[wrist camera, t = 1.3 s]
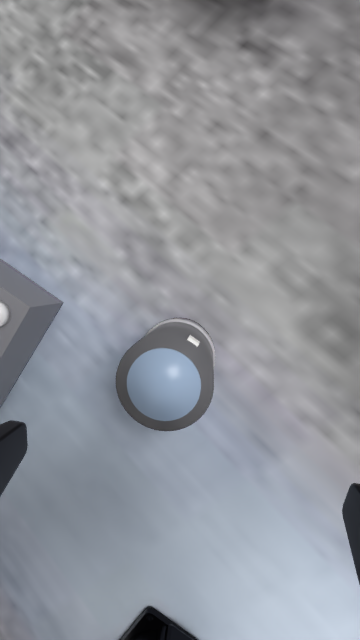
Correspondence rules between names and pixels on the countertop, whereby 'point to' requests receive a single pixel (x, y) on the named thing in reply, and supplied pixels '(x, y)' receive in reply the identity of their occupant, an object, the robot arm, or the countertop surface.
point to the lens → (168, 375)
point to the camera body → (21, 323)
